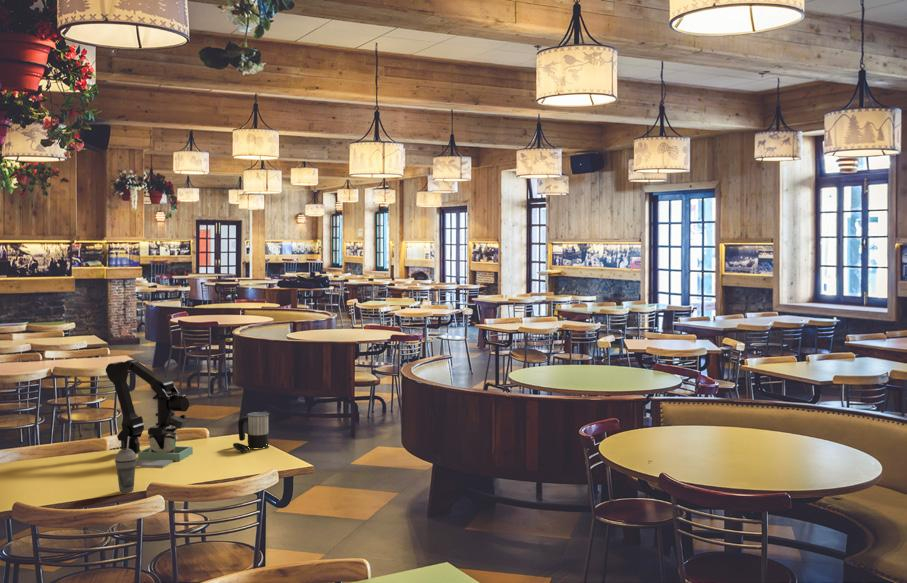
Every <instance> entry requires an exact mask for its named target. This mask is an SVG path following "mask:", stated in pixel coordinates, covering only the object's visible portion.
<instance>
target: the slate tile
mask: <svg viewBox="0 0 907 583" xmlns="http://www.w3.org/2000/svg"><path fill="white" fill-rule="evenodd" d="M170 463H171V464H172V463H173V461H172V460H147V459H139V460H138V459H136V465H135V466H141V467H140V468H158V467H164V468H165V467H167V466H169V465H171V464H170ZM168 464H169V465H168ZM166 465H167V466H166Z"/></svg>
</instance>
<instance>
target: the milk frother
mask: <svg viewBox="0 0 907 583" xmlns="http://www.w3.org/2000/svg"><path fill="white" fill-rule="evenodd" d="M269 415H270V413H269V412H266V411H256V412H255V411H253V412H249V413H247V414H246V415H245V416H242V417H240V419H238V422H237V427H238V428H237V429H238V430H237V431H238V439H239V441H241V442H242V441H245V439H246V430H245V428H246V427H245V422H247V445H246V444H243V443H239V442H234V443H233V444H232V446H233V448H234V449H235V450H236V451H239V452H242V453H248V452H250V450H251V449H249V448H263V447H265V449H267V447H268V448H270V445H269ZM266 444H267V445H266ZM268 445H269V446H268ZM248 447H249V448H248ZM247 451H248V452H247Z"/></svg>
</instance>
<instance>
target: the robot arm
mask: <svg viewBox="0 0 907 583" xmlns="http://www.w3.org/2000/svg"><path fill="white" fill-rule="evenodd" d="M129 371H130V372H132V373H133V374H134V375H136V376H137V377H138V378H140V379H141V380H143V381H145V382H146V383H147V384H149V386H150V388H151V390H153V392H154V393H155V395H154V396H153V397H152V400H156V401H157V403H156V404H157V405H156V406H157V412H156V413H155V417H157V422H156V423H155V425H152V426H151V427H149V428H148V429H147V435H148V436H149V435H153V437H154V438H155V440H156V442H157V443H158V445H159V447H160V449H163V448H164V439H165V436H166V435H167V434H168V433H165V432H175V433H176V431H178V430H180V429H182V428H184V427H185V425H186V424H187V423H188V420H187V415H186V414H181V415H175V412H182V413H183V412H187V411H188V410H189V408H190V402H189V399H188V398H187V395H186V394H180V392H179V391H178V389H177V388H176V386H175V384H174V381H173V379H170V378H168V377H165V376H161V375H158V374H157V373H155V372H154V371H152V370H151V369H150V368H148V367H147V366H145V365H144V364H142V363H141V362H140V361H139V360H138V359H135V358H134V359H133V358H132V359H128V360H126V361H116V362H111V363H109V364H107V365H106V368H105V374H106V375H107V378H108V380H109V381H110V382H111V383H112V384H113V385H114V387H115V391H116V392H115V393H116V395H117V399H118V400H117V401H118V402H119V406H120V410H121V412H122V421H121V431H120V432H119V433H118V434H117V436H116V437H117V440H118V441H119V442H120V450H121V449H124V448H127V441H128V436H129V446H128V448H129V449H131V450H133V451H134V453H135V454H138V452H140V451H142V450H141V448H140V441H139V438H141V437H142V435H143V431H144V430H145V423H144V419H143V416H142V415H140V416H139V415H137V412H136V411H135V407H134V406H135V405H134V403H133V400H132V397H131V393H130V389H129V386H128V382H127V380H128V377H129Z"/></svg>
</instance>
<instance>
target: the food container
mask: <svg viewBox="0 0 907 583" xmlns="http://www.w3.org/2000/svg"><path fill="white" fill-rule="evenodd" d="M165 433H168V434H167V435H166V436H165V439H164V448H163V449H160V447H159V445H158V443H157V442H156V440H155V438H154V437H153V435H148V436H147V440H149V447H150V448H151V452H155V453H175V447H176V444H177V440H178V438H179V437H178V434H177V433H176V431H175V432H165Z"/></svg>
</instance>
